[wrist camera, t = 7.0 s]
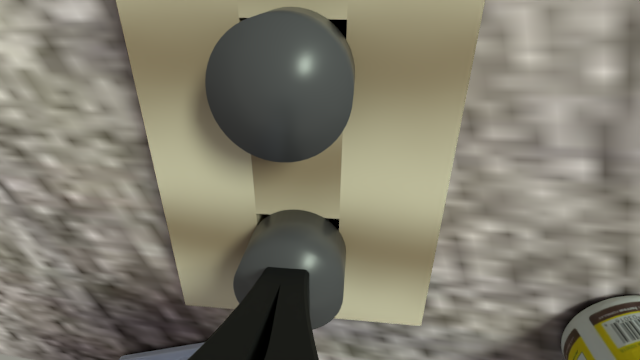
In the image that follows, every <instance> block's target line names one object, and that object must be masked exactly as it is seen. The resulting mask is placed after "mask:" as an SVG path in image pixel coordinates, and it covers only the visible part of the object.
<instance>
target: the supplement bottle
mask: <svg viewBox="0 0 640 360" xmlns="http://www.w3.org/2000/svg"><path fill="white" fill-rule="evenodd" d="M561 349H562V353H563V356H564V358H565V360H640V295H630V296H621V297H615V298H610V299H607V300H603V301H601V302H598V303H596V304H593V305H591V306H589V307H587V308H586V309H584V310H583V311H581V312H580V313H578V314H577V315H576V316H575V317H574V318H573V319H572V320H571V321H570V322H569V324H568V325H567V326H566V328H565V330H564V332H563V335H562V339H561Z"/></svg>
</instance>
